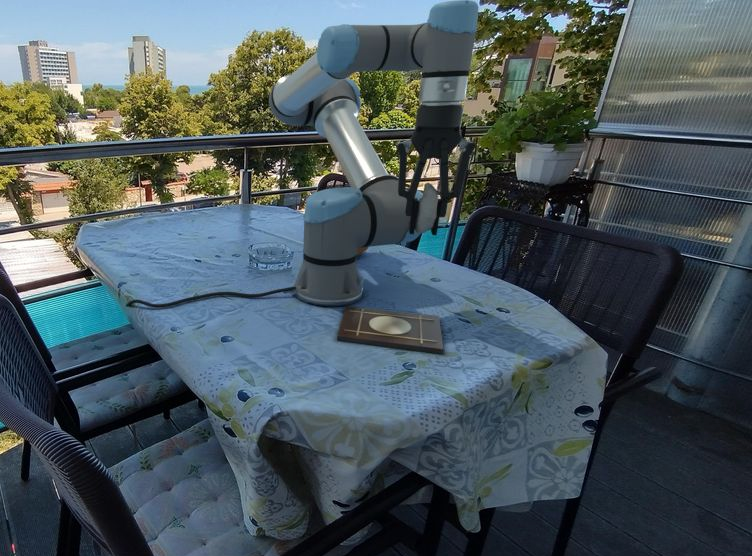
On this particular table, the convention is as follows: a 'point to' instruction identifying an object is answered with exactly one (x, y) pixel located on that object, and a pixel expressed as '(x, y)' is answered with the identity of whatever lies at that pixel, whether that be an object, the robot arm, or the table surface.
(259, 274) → the table surface
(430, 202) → the fossil
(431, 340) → the board
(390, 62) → the robot arm
